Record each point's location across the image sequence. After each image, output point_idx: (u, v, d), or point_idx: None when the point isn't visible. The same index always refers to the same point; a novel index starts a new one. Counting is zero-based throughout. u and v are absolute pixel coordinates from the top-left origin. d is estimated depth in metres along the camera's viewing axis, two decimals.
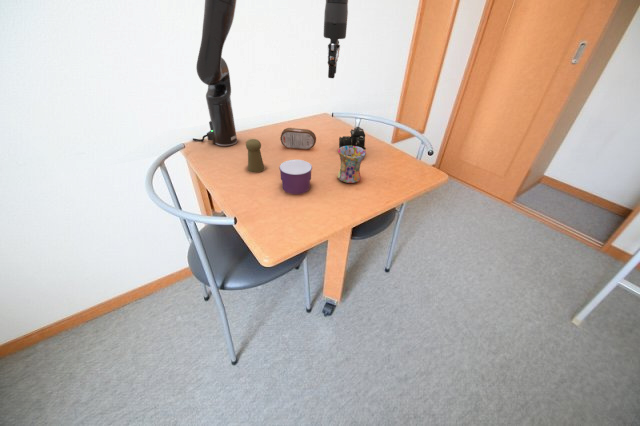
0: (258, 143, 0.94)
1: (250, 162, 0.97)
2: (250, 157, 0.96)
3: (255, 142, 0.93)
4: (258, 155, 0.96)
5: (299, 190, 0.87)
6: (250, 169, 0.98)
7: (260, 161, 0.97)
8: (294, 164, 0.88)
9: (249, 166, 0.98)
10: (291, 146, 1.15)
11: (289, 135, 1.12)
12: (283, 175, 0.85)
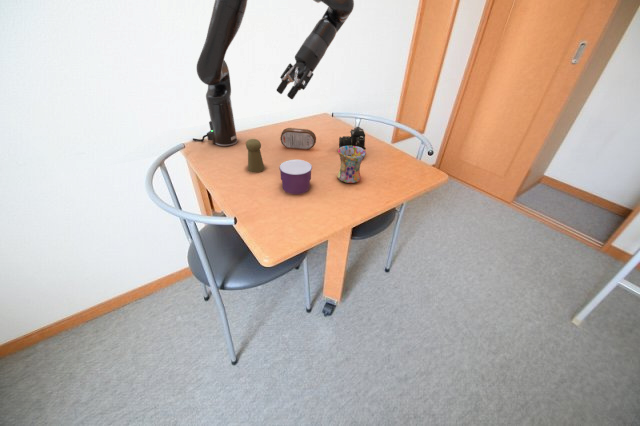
0: (258, 143, 0.94)
1: (250, 162, 0.97)
2: (250, 157, 0.96)
3: (255, 142, 0.93)
4: (258, 155, 0.96)
5: (299, 190, 0.87)
6: (250, 169, 0.98)
7: (260, 161, 0.97)
8: (294, 164, 0.88)
9: (249, 166, 0.98)
10: (291, 146, 1.15)
11: (289, 135, 1.12)
12: (283, 175, 0.85)
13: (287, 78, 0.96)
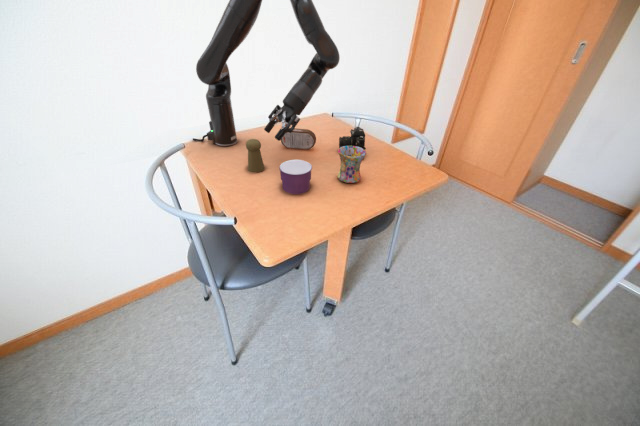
0: (258, 143, 0.94)
1: (250, 162, 0.97)
2: (250, 157, 0.96)
3: (255, 142, 0.93)
4: (258, 155, 0.96)
5: (299, 190, 0.87)
6: (250, 169, 0.98)
7: (260, 161, 0.97)
8: (294, 164, 0.88)
9: (249, 166, 0.98)
10: (291, 146, 1.15)
11: (289, 135, 1.12)
12: (283, 175, 0.85)
13: None
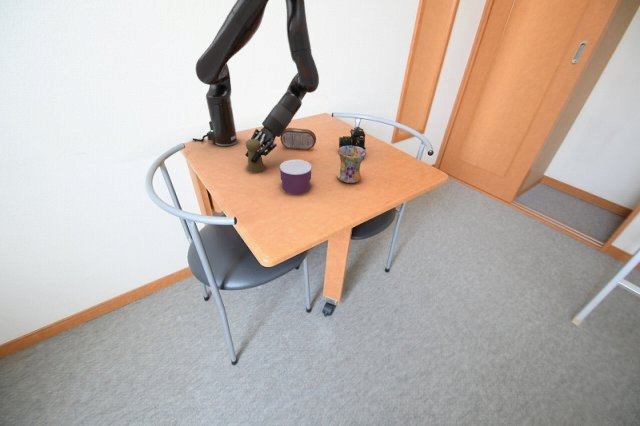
0: (258, 143, 0.94)
1: (250, 162, 0.97)
2: (250, 157, 0.96)
3: (255, 142, 0.93)
4: None
5: (299, 190, 0.87)
6: (250, 169, 0.98)
7: (260, 161, 0.97)
8: (294, 164, 0.88)
9: (249, 166, 0.98)
10: (291, 146, 1.15)
11: (289, 135, 1.12)
12: (283, 175, 0.85)
13: None
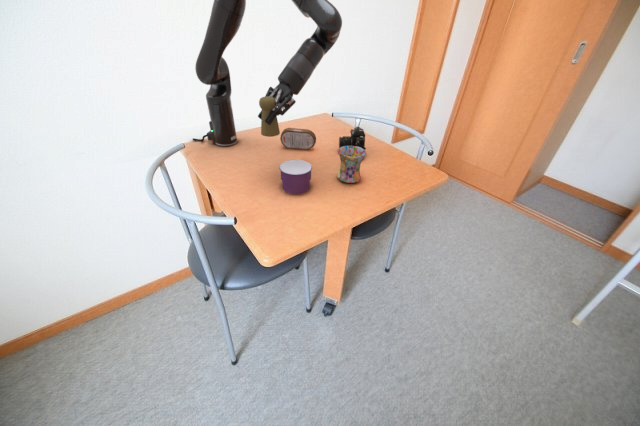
0: (273, 100, 0.80)
1: (264, 124, 0.83)
2: (264, 118, 0.82)
3: (270, 99, 0.80)
4: None
5: (299, 190, 0.87)
6: (264, 133, 0.85)
7: (275, 123, 0.84)
8: (294, 164, 0.88)
9: (262, 129, 0.85)
10: (291, 146, 1.15)
11: (289, 135, 1.12)
12: (283, 175, 0.85)
13: None
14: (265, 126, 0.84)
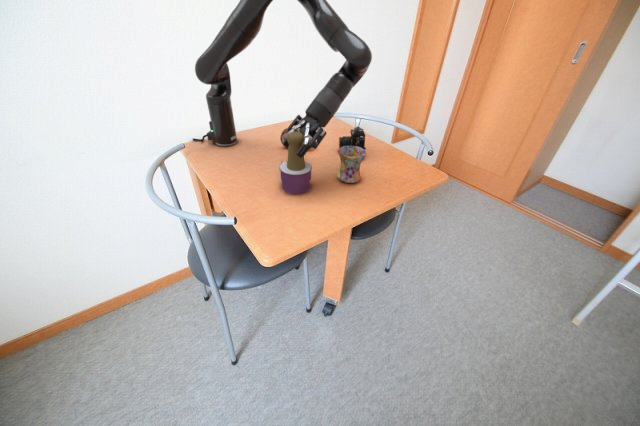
0: (302, 136, 0.80)
1: (291, 159, 0.83)
2: (291, 153, 0.82)
3: (298, 135, 0.80)
4: None
5: (299, 190, 0.87)
6: (290, 167, 0.85)
7: (302, 158, 0.84)
8: None
9: (289, 163, 0.84)
10: None
11: None
12: (283, 175, 0.85)
13: None
14: (292, 161, 0.83)
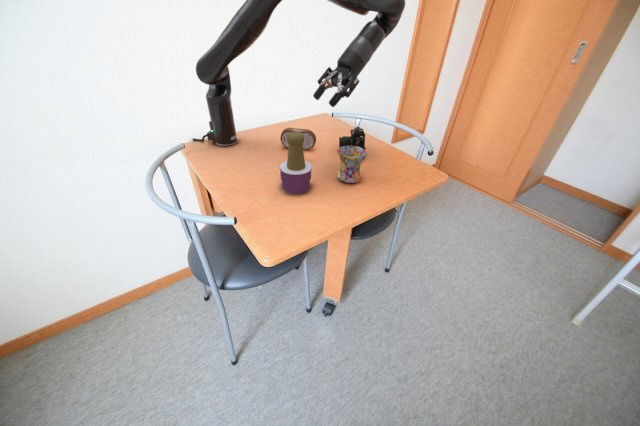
0: (302, 136, 0.80)
1: (291, 159, 0.83)
2: (291, 153, 0.82)
3: (298, 135, 0.80)
4: (300, 151, 0.82)
5: (299, 190, 0.87)
6: (290, 167, 0.85)
7: (302, 158, 0.84)
8: None
9: (289, 163, 0.84)
10: None
11: None
12: (283, 175, 0.85)
13: None
14: (292, 161, 0.83)
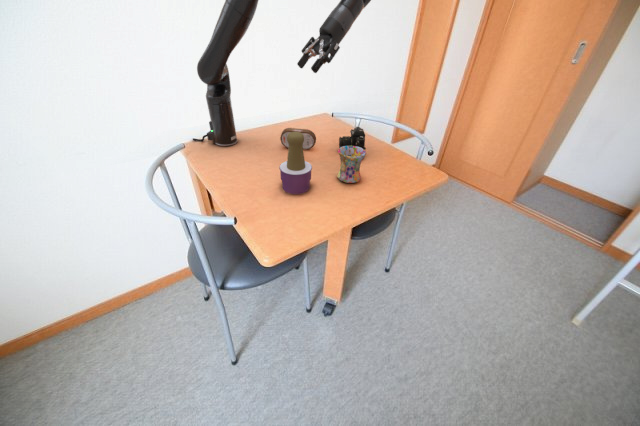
0: (302, 136, 0.80)
1: (291, 159, 0.83)
2: (291, 153, 0.82)
3: (298, 135, 0.80)
4: (300, 151, 0.82)
5: (299, 190, 0.87)
6: (290, 167, 0.85)
7: (302, 158, 0.84)
8: None
9: (289, 163, 0.84)
10: None
11: None
12: (283, 175, 0.85)
13: (308, 52, 0.92)
14: (292, 161, 0.83)
